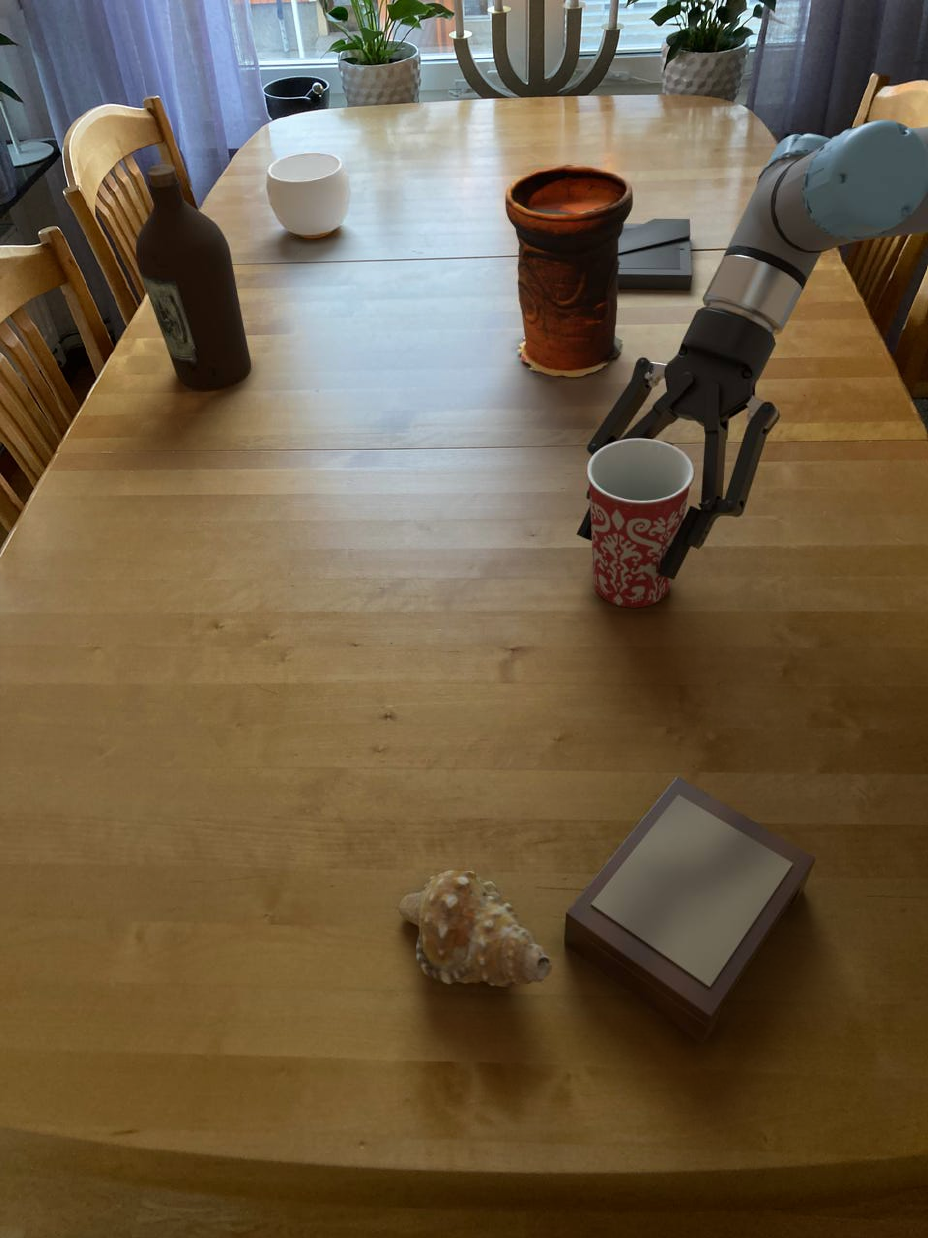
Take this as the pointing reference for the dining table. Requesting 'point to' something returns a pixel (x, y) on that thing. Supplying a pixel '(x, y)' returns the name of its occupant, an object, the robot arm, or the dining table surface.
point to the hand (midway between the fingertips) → (624, 556)
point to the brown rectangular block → (686, 905)
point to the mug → (635, 516)
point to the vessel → (568, 265)
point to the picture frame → (655, 255)
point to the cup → (309, 193)
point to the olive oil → (191, 288)
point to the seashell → (472, 933)
